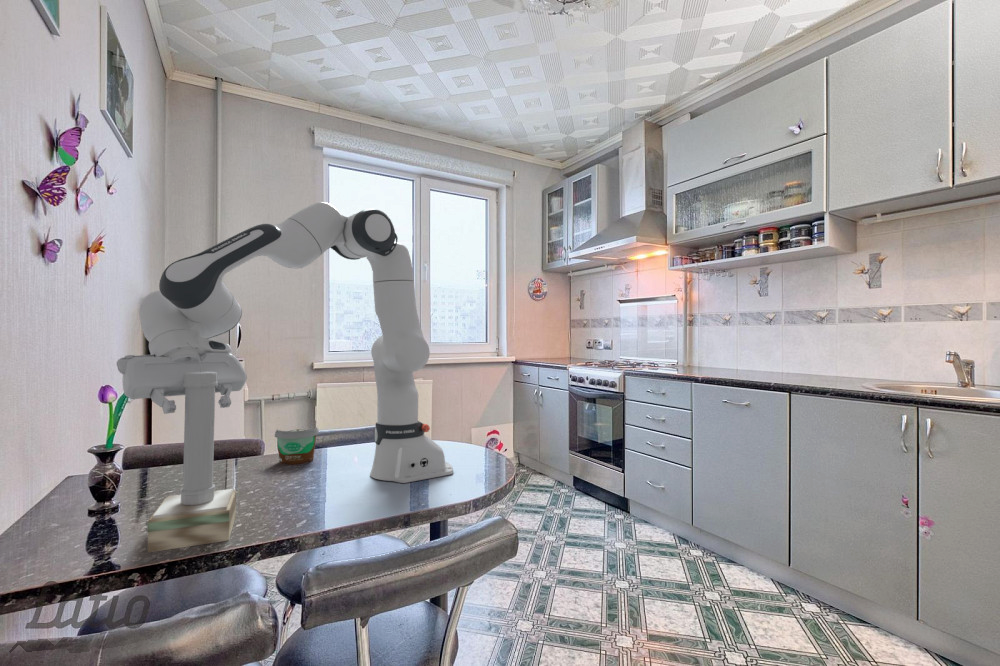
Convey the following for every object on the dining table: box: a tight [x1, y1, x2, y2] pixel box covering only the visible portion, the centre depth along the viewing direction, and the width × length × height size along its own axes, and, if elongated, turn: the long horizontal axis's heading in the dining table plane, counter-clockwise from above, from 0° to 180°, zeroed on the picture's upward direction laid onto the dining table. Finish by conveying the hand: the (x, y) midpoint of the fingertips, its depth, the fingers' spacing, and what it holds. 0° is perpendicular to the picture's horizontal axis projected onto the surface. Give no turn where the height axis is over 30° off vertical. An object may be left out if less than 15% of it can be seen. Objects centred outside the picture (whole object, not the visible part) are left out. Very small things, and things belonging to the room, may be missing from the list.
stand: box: [147, 488, 237, 553], centre depth 86 cm, size 12×12×6 cm
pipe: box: [179, 342, 218, 506], centre depth 86 cm, size 6×6×30 cm
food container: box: [274, 426, 320, 466], centre depth 135 cm, size 12×6×10 cm, turn 114°
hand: (199, 408), depth 86 cm, fingers open, 8 cm apart
